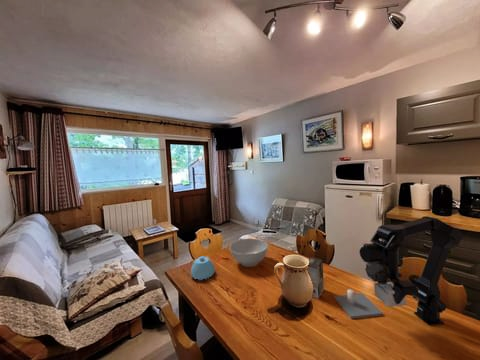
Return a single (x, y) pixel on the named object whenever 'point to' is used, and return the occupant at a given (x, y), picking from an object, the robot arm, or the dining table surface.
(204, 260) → the light blue dome
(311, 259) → the coffee box
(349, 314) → the duct plate
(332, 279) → the dining table surface
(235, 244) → the decorative bowl
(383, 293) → the collar
